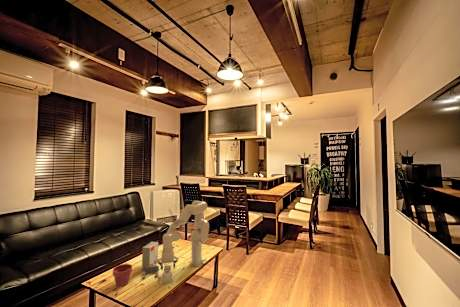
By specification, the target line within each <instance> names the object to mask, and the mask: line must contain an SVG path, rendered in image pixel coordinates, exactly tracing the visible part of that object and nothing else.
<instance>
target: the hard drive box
mask: <svg viewBox="0 0 460 307" xmlns="http://www.w3.org/2000/svg"><path fill="white" fill-rule="evenodd" d="M141 250H142V252H141V253H142V256H141V257H142V258H141V261H142V262H141V270H144V271H145V267H150V266H157V264H158V262H157V260H158V259H159V242H158V241H150V242H149V243H148V244H146V245H145V246H143V247H142V249H141Z"/></svg>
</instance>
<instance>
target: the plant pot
mask: <svg viewBox="0 0 460 307" xmlns="http://www.w3.org/2000/svg"><path fill="white" fill-rule="evenodd" d="M132 272H133V265H132V264H130V263H124V264H123V263H122V264H119V265H116V266H115V267H113V269H112V276H113V277H114V281H115V286H116V287H118V288H121V287H125V286H127V285H128V284H129V282H130V278H131V273H132Z"/></svg>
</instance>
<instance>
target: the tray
mask: <svg viewBox="0 0 460 307" xmlns="http://www.w3.org/2000/svg"><path fill="white" fill-rule="evenodd" d="M173 282H174V271H172V270H171V278H164V271H163V272H161V275H160V284H168V283H173Z"/></svg>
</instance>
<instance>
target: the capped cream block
mask: <svg viewBox="0 0 460 307" xmlns="http://www.w3.org/2000/svg"><path fill="white" fill-rule="evenodd" d="M171 271H172V265H171V264H169V265H164V266H163V272H164V278H171Z"/></svg>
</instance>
